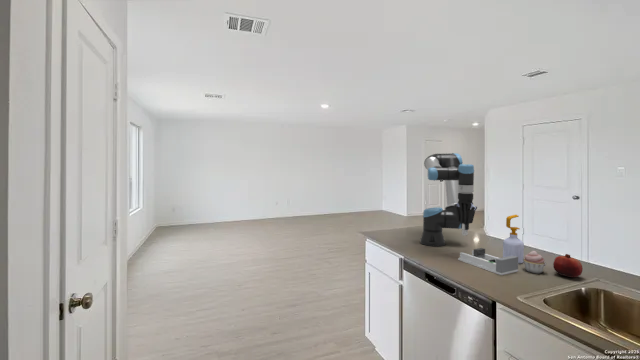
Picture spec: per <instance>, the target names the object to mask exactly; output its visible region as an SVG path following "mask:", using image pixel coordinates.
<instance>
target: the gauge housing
mask: <svg viewBox="0 0 640 360" xmlns="http://www.w3.org/2000/svg"><path fill="white" fill-rule="evenodd" d="M473 255H474V249H473V250H471V254H469V253H466V252H459V257H457V260H458V261H460V262H463V263H466V264H468V265H471V266H474V267H477V268H480V269H483V270H484V271H485V270H486V271H488V272H491V273H493V274H497V275H499V276H503V275H509V274H513V273H517V272H519V263H518V257H517V256H508V257H503V256H502V257H497V256H494V255H491V254H488V253H485V255H488V256H491V257H495V258H498V259H496V263H495V262H489V261H488V260H485V259H482V258H478V257H475V256H473Z"/></svg>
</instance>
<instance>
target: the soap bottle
mask: <svg viewBox="0 0 640 360" xmlns="http://www.w3.org/2000/svg"><path fill="white" fill-rule="evenodd" d="M514 218H519V215H518V214H512V215H508V216H506V220H505V221H506V222H505V226H506V228H508V229H510V231H511V232H509V237H506V238H505V239H503V241H502V247H503V248H502V258H503V257H508V256H517V257H518V264H522V263H523V264H524V262H523V259H525V255H524V254H525V253H524V252H525V250H524V249H525V244H524V241H523V240H521V239H520V238H519V237H518V233H517V232H516V231H518V230H521V228H520V227H517V226H511V220H513V219H514Z"/></svg>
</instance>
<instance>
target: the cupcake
mask: <svg viewBox="0 0 640 360" xmlns="http://www.w3.org/2000/svg"><path fill="white" fill-rule="evenodd" d="M523 264H524V268H525V271H526V272H529V273H531V274H542V273H543V272H544V268H545V267H546V265H547V263H546V262H545V259H544V258H543V256H542V254H539V253H538V252H537V251H536V250H531V251H530V252H528V253H527V254H525V255H524V259H523Z"/></svg>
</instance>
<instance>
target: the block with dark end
mask: <svg viewBox="0 0 640 360" xmlns="http://www.w3.org/2000/svg"><path fill="white" fill-rule="evenodd" d="M473 250H474V255H473V256H475V257H478V258H482V259H485V260H488V261H489V262H495V263H496V259H498V258H499V257H498V258H495V257H496V256H494V257H491V256H492V255H491V256H488V255H489V254H488V255H485V254H486V248H484V247H479V248H478V247H477V248H473Z"/></svg>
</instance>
